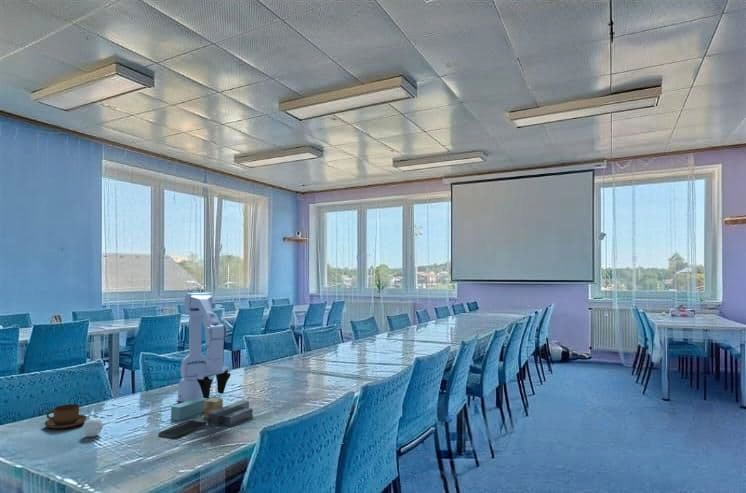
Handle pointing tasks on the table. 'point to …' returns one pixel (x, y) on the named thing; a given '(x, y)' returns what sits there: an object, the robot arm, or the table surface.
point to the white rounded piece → (92, 427)
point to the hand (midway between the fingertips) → (213, 395)
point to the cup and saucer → (65, 417)
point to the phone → (182, 429)
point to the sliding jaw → (188, 408)
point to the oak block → (212, 405)
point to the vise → (230, 414)
